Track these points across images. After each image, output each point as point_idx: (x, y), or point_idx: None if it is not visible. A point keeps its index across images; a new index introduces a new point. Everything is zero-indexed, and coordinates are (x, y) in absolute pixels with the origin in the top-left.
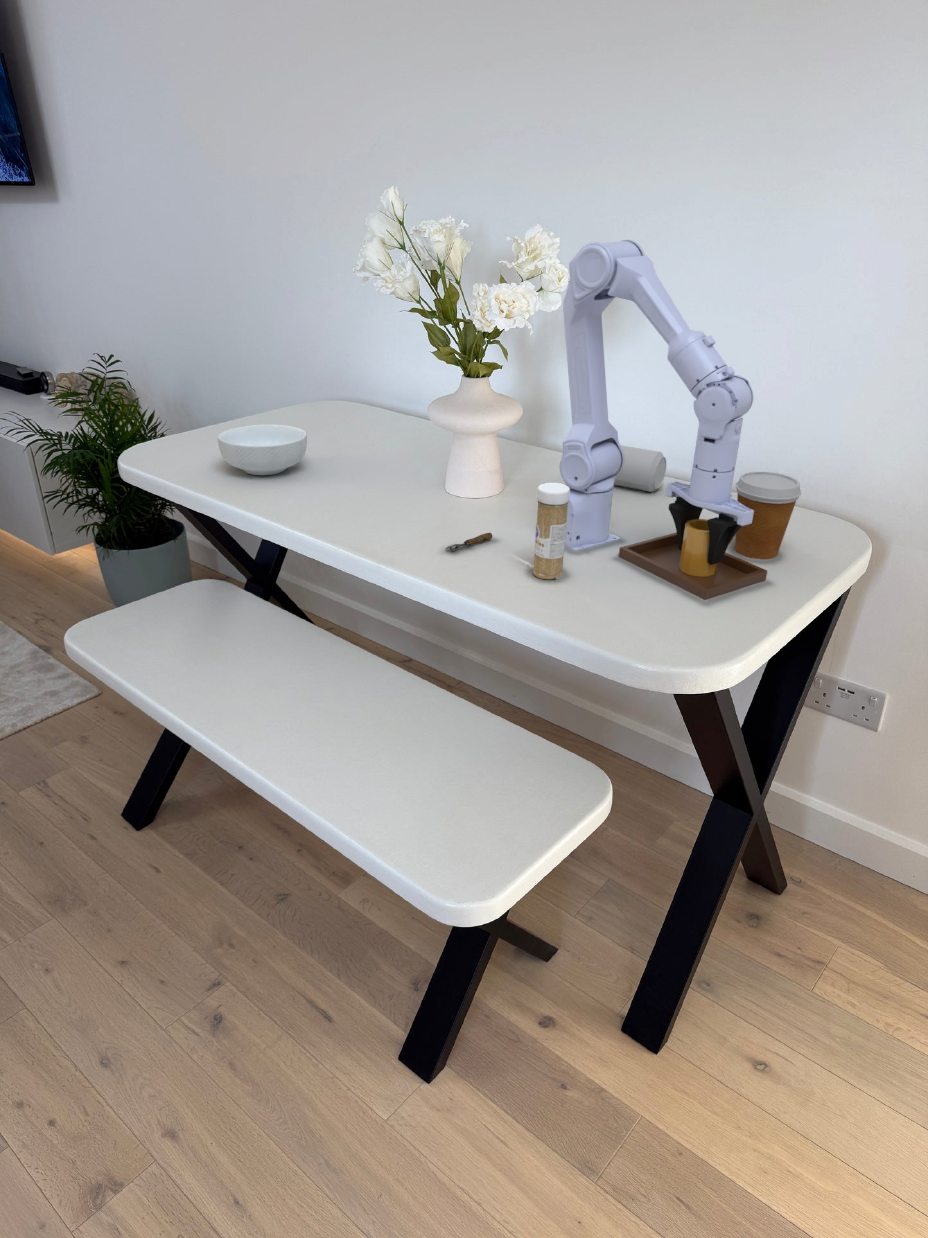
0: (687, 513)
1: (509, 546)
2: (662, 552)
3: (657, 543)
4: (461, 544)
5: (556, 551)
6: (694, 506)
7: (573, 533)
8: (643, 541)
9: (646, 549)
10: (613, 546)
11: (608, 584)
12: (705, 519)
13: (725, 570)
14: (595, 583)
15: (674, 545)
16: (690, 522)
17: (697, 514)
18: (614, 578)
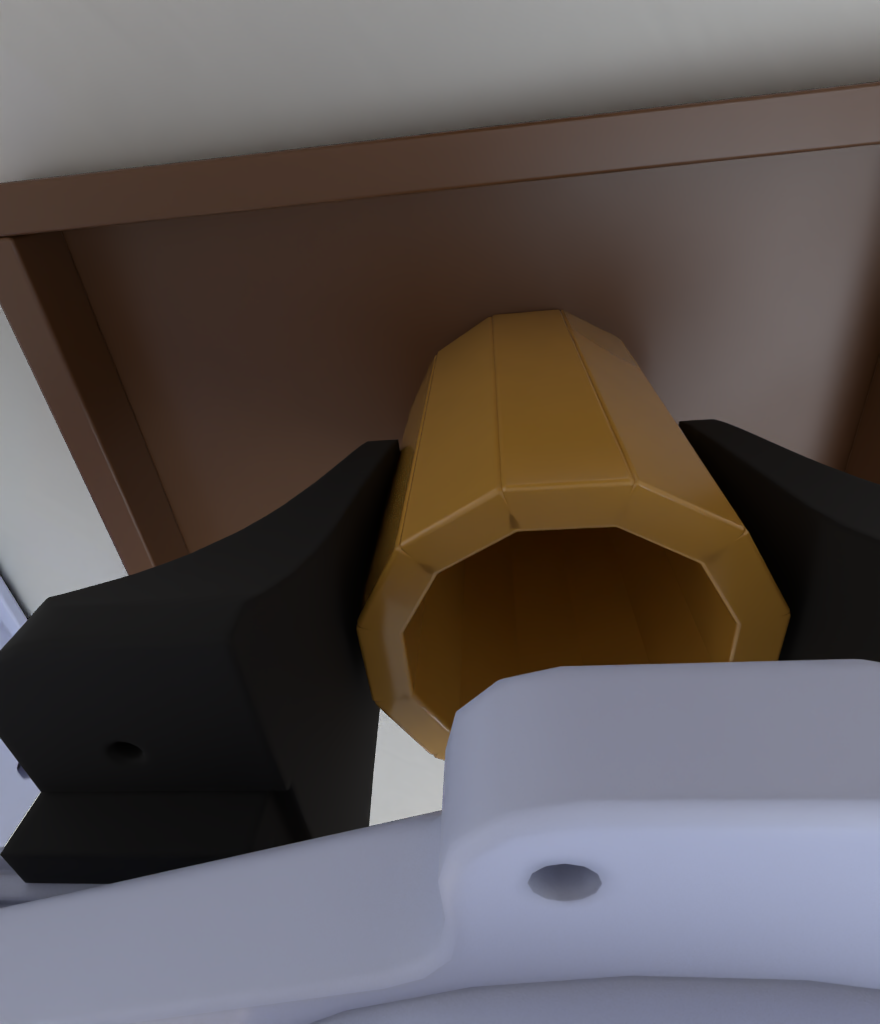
0: (343, 773)
1: (5, 844)
2: (213, 444)
3: (124, 450)
4: None
5: None
6: (306, 774)
7: (24, 811)
8: (126, 559)
9: (169, 523)
10: (39, 574)
11: (431, 785)
12: (424, 541)
13: (655, 262)
14: (402, 808)
15: (109, 285)
16: (428, 711)
17: (320, 609)
18: (392, 748)
